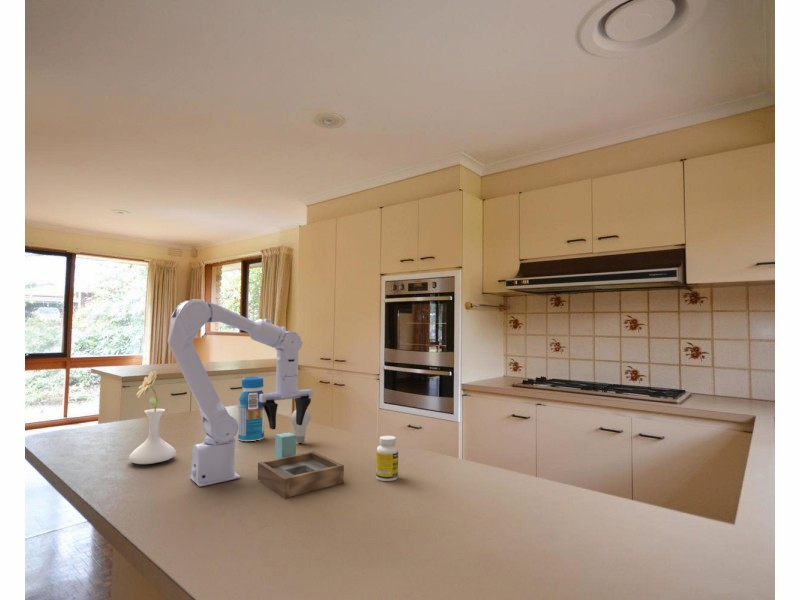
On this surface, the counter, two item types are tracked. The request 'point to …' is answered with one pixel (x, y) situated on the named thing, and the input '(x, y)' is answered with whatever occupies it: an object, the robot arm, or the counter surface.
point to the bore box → (300, 473)
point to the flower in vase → (152, 431)
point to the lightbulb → (300, 426)
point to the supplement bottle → (387, 459)
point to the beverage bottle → (251, 410)
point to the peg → (285, 445)
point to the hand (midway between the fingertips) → (286, 426)
